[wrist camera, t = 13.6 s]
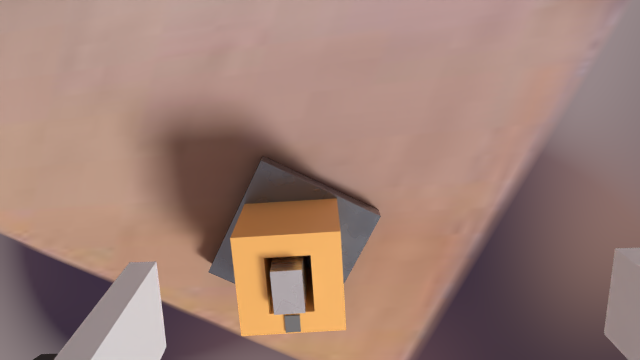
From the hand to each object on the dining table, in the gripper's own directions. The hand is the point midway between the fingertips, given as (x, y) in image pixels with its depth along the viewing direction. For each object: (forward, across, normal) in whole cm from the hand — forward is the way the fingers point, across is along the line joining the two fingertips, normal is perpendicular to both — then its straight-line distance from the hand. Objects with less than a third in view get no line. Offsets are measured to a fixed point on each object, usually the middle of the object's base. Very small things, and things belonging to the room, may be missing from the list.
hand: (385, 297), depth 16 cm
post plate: (+27, -4, -9) cm, 28 cm away
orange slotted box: (+25, -4, -9) cm, 27 cm away
